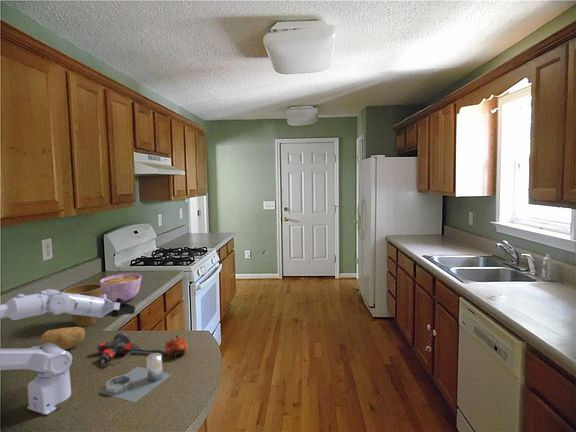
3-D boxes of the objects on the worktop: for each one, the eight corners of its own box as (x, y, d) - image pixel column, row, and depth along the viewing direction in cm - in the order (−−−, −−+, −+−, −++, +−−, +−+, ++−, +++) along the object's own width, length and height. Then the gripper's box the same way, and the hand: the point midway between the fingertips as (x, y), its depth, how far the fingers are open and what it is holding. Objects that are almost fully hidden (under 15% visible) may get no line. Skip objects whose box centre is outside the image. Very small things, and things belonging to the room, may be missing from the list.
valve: (80, 372, 118) (108, 345, 133) (152, 380, 115) (173, 352, 129) (77, 355, 117) (106, 330, 131) (150, 363, 113) (172, 337, 128)
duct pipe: (155, 383, 105) (154, 361, 105) (144, 380, 107) (143, 358, 106) (166, 375, 110) (165, 353, 109) (155, 372, 111) (154, 351, 111)
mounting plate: (135, 405, 96) (135, 402, 96) (98, 395, 102) (97, 391, 101) (172, 377, 110) (171, 374, 110) (137, 369, 115) (137, 366, 115)
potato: (85, 350, 129) (83, 329, 128) (39, 359, 123) (37, 337, 123) (87, 340, 138) (86, 320, 137) (44, 347, 132) (43, 326, 132)
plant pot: (107, 315, 164) (105, 282, 162) (101, 327, 150) (99, 291, 148) (71, 319, 159) (68, 285, 158) (61, 332, 145) (58, 295, 143)
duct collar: (118, 396, 99) (118, 390, 99) (101, 391, 102) (100, 385, 102) (137, 383, 106) (136, 377, 105) (120, 378, 108) (119, 373, 108)
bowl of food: (92, 305, 178) (90, 283, 177) (117, 293, 197) (116, 273, 196) (127, 307, 174) (126, 284, 173) (150, 294, 194) (149, 274, 193)
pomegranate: (188, 366, 121) (192, 339, 129) (181, 356, 116) (185, 329, 124) (166, 368, 122) (172, 341, 129) (159, 359, 117) (165, 331, 124)
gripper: (102, 289, 103) (142, 296, 113) (76, 294, 110) (116, 300, 120) (97, 314, 100) (139, 319, 110) (70, 317, 107) (111, 321, 118)
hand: (126, 311), depth 115 cm, fingers open, 7 cm apart
